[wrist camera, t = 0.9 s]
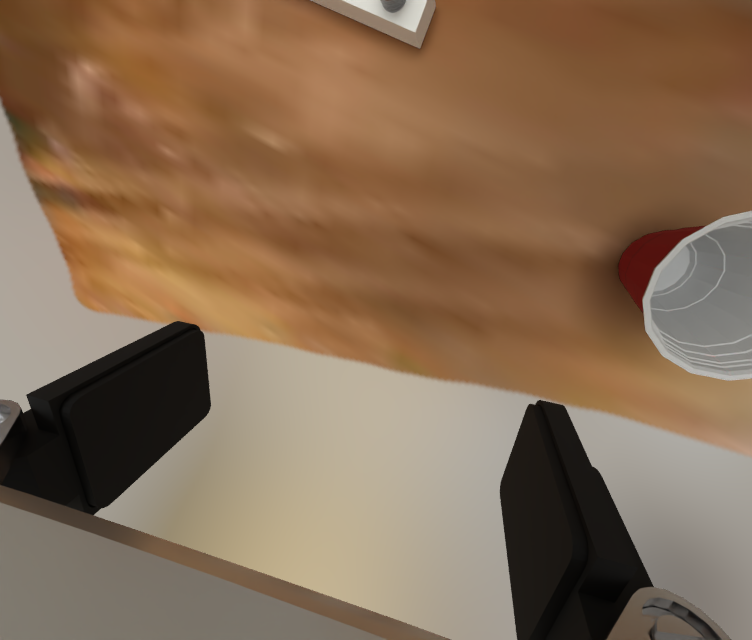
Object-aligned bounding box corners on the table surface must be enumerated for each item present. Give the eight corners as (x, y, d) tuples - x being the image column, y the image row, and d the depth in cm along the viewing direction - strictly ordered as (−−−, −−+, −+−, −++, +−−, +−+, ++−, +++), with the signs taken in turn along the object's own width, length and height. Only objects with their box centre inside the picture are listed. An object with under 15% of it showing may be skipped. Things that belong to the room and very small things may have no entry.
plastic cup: (668, 171, 29) (795, 162, 18) (754, 257, 30) (926, 299, 19) (559, 265, 33) (608, 304, 22) (637, 338, 34) (720, 410, 23)
